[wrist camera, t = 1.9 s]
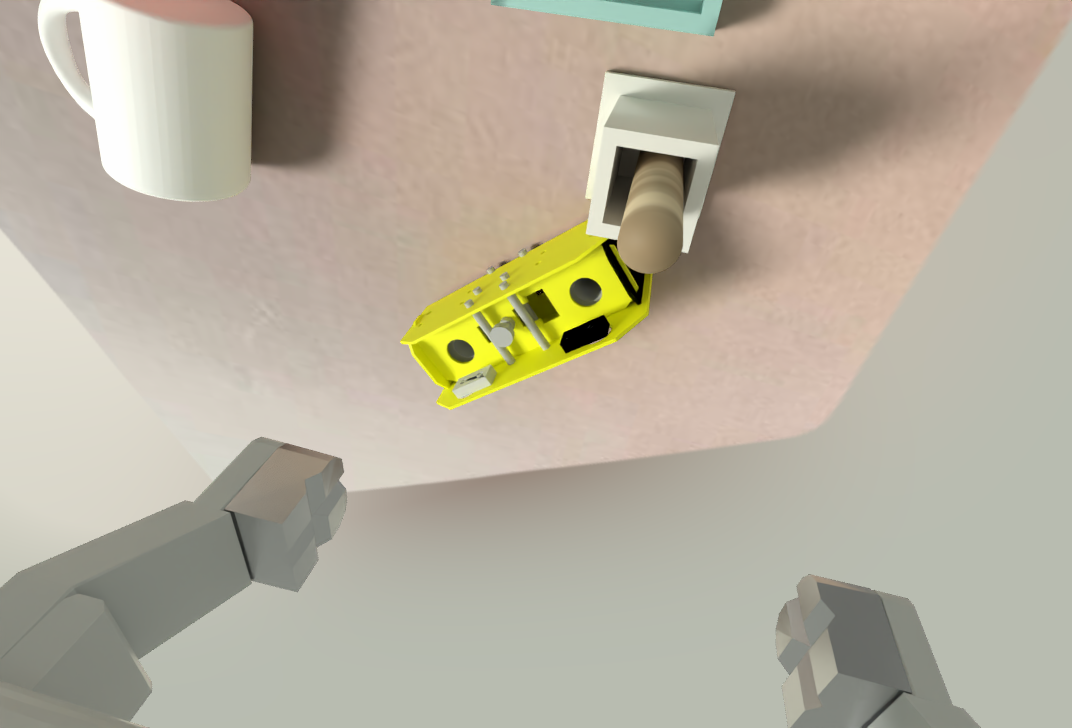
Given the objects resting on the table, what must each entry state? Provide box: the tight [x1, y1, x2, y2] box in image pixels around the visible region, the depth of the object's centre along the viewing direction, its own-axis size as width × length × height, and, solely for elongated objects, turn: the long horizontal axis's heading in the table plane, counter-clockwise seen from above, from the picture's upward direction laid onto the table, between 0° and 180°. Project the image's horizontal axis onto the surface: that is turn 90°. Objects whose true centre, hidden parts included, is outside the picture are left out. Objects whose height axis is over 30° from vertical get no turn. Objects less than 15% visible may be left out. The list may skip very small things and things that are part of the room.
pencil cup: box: [585, 71, 736, 253], centre depth 29 cm, size 7×7×9 cm
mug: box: [38, 0, 253, 202], centre depth 33 cm, size 12×10×8 cm
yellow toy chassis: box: [400, 220, 653, 410], centre depth 36 cm, size 16×6×8 cm, turn 123°
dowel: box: [617, 150, 683, 274], centre depth 26 cm, size 2×4×14 cm, turn 83°
